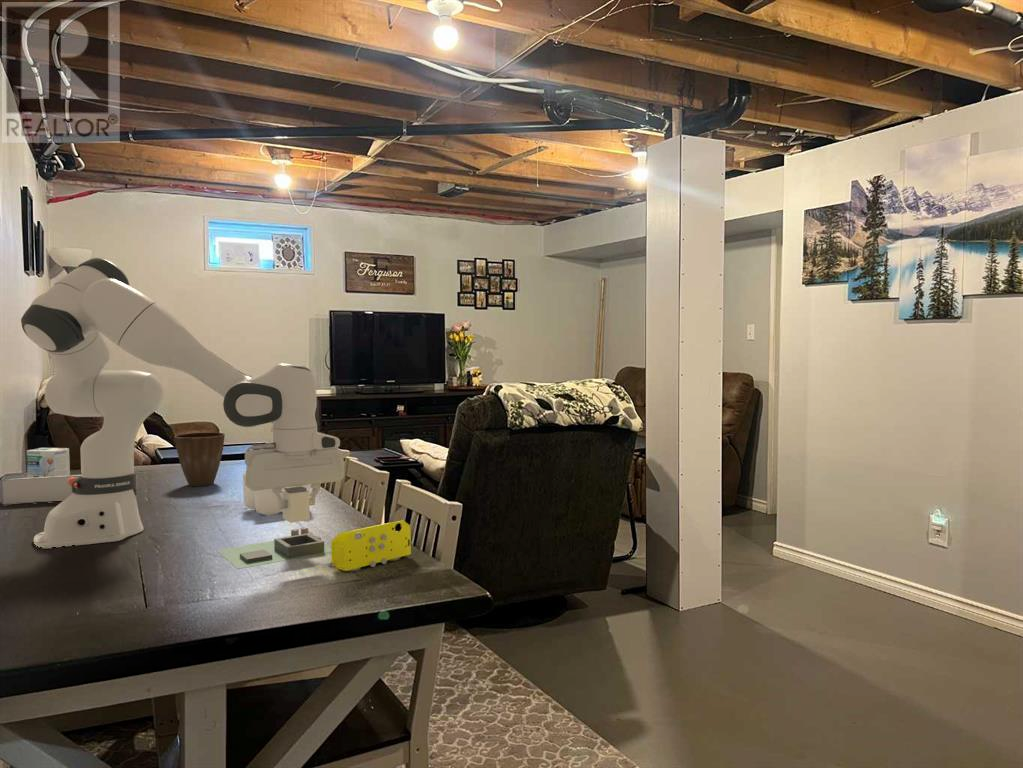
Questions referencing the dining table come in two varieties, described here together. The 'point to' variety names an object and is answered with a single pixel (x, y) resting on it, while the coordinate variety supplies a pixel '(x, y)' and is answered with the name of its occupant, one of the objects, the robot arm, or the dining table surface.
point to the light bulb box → (48, 462)
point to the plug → (296, 504)
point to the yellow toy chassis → (371, 545)
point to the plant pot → (200, 456)
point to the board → (276, 550)
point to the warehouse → (36, 489)
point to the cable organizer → (263, 499)
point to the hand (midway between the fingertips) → (296, 506)
